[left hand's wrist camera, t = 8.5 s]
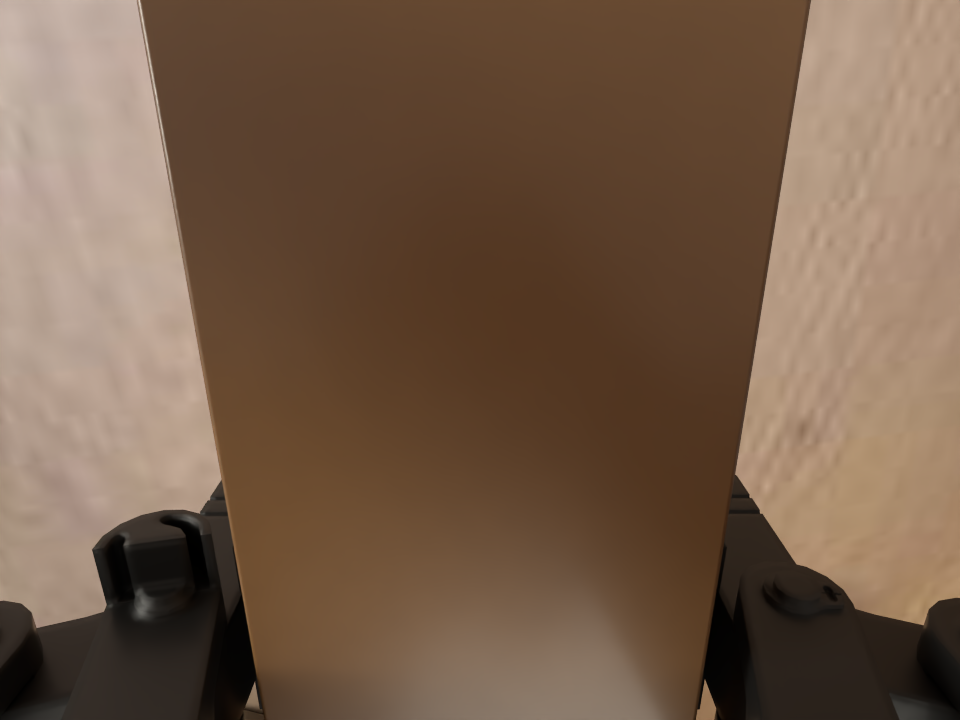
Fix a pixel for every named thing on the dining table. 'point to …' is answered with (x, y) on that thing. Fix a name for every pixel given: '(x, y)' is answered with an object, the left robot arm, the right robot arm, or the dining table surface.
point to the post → (476, 333)
